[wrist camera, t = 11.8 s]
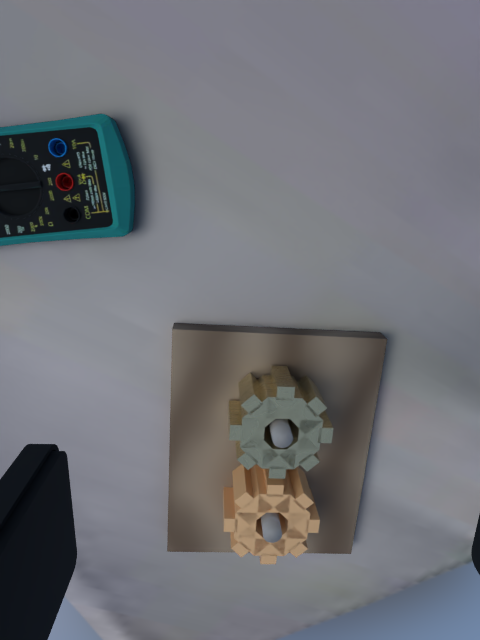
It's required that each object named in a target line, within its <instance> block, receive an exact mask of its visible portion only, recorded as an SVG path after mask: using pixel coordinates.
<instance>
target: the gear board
mask: <svg viewBox="0 0 480 640" xmlns="http://www.w3.org/2000/svg"><path fill="white" fill-rule="evenodd" d="M386 344H387V338H386V337H385V336H383V335H382V334H381V333H379V332H357V331H335V330H314V329H292V328H271V327H249V326H227V325H206V324H184V323H174V325H173V329H172V365H171V411H170V456H169V501H168V546H167V551H170V552H235V551H233V550H232V549H231V538H230V532H224V526H223V490H224V487H233V475H232V471H233V470H235V469H236V468H237V467H239V466H240V465H241V463H240V462H239V461H238V460H237V455H236V442H235V440H229V428H228V404H229V401H239V397H240V394H239V385H238V382H239V381H241V380H242V379H243V378H244V377H246V376H247V375H248V374H249V373H251V374H252V375H253V376H254V377H255V378H256V379H257V380H258V379H259V378H260V377H261V376H262V375H270V373H271V366H287V367H288V370H289V372H290V375H291V376H294V377H295V379H296V380H297V381H299V380H300V379H302V378H303V377H304V376H305V375H307V376H308V377H309V378H310V379H311V380H312V382H313V383H314V384H315V385H316V386H317V388H318V390H319V392H320V394H321V396H322V398H323V400H324V403H325V405H326V407H327V409H326V410H325V411H326V413H327V415H328V418H329V420H330V422H331V424H332V426H333V428H334V429H333V436H332V443H320V448H319V451H317V455H318V458H319V460H320V462H319V463H318V464H316V465H315V466H314V467H313V468H311V469H310V470H309V471H306V470H305V469H304V468H303V467H302V466H301V465H299V466H298V467H299V468H300V469H301V470H302V471H303V472H304V473H305V475H306V478H307V482H308V485H309V488H310V489H311V492H312V495H313V499H314V502H315V505H316V508H317V512H318V515H319V518H320V524H319V531H318V533H308V536H307V539H306V543H307V547H308V549H307V550H306V551H305V552H303V553H333V554H351V551H352V545H353V539H354V533H355V527H356V521H357V515H358V509H359V503H360V497H361V491H362V486H363V480H364V474H365V468H366V462H367V456H368V450H369V444H370V438H371V432H372V426H373V420H374V415H375V409H376V403H377V397H378V391H379V385H380V379H381V373H382V367H383V361H384V355H385V350H386ZM269 427H270V431H271V436H272V441H273V443H274V445H275V446H277V447H279V448H285V447H288V446H289V445H290V444H291V443H292V441H293V436H292V433H291V429H290V426H289V423H288V419H275V420H273V421H272V422H271V423H270V424H269ZM255 465H257V464H255ZM261 524H262V531H263V538H264V539H265V540H266V541H267V542H270V543H274V542H277V541H279V540H280V539H281V537H282V531H281V525H280V520H279V515H278V513H265V514H264V515H263V516H261ZM289 553H290V552H289Z"/></svg>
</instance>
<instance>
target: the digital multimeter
mask: <svg viewBox="0 0 480 640" xmlns="http://www.w3.org/2000/svg"><path fill="white" fill-rule="evenodd" d="M86 127H87V128H86ZM75 128H76V129H75ZM65 129H66V130H65ZM54 130H55V131H54ZM15 155H16V156H15ZM20 157H21V158H20ZM22 158H23V159H22ZM28 162H29V163H28ZM36 171H37V172H36ZM42 195H43V197H42ZM41 200H42V201H41ZM37 208H38V209H37ZM134 209H135V185H134V179H133V172H132V166H131V163H130V160H129V157H128V153H127V150H126V147H125V144H124V142H123V139H122V137H121V134H120V132H119V129H118V127H117V124H116V122H115V121H114V120H113V119H112V118H110V117H109V116H107V115H105V114H97V115H90V116H83V117H77V118H70V119H64V120H57V121H49V122H41V123H33V124H25V125H17V126H9V127H0V246H2V245H11V244H20V243H29V242H41V241H55V240H69V239H82V238H102V237H122V236H125V235H127V234H128V233H130V232H131V231H132V229H133V222H134ZM102 227H104V228H102ZM92 228H94V229H92ZM82 229H84V230H82ZM73 230H74V231H73ZM63 231H64V232H63Z"/></svg>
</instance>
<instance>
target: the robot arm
mask: <svg viewBox="0 0 480 640" xmlns="http://www.w3.org/2000/svg"><path fill="white" fill-rule="evenodd" d="M76 559H77V547H76V538H75V528H74V518H73V509H72V499H71V489H70V480H69V470H68V461H67V454H66V452H65V451H59V449H58V447H57V445H55V444H28V445H26V446H25V447H24V449H23V450H22V451H21V453H20V454H19V455H18V457H17V458H16V459H15V461H14V462H13V463H12V465H11V466H10V467H9V469H8V470H7V471H6V473H5V474H4V475H3V477H2V478H1V479H0V640H47V639H48V637H49V634H50V632H51V629H52V626H53V624H54V621H55V619H56V616H57V613H58V611H59V608H60V605H61V603H62V600H63V598H64V595H65V593H66V590H67V588H68V585H69V582H70V580H71V577H72V575H73V572H74V569H75V565H76ZM472 560H473V563H474V566H475V568H476V569H477V571H478V573H479V574H480V515H479V519H478V524H477V528H476V532H475V537H474V541H473V546H472Z"/></svg>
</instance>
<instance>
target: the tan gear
mask: <svg viewBox="0 0 480 640" xmlns="http://www.w3.org/2000/svg"><path fill="white" fill-rule="evenodd" d="M232 475H233V487H224V490H223V526H224V532H230V538H231V549H232V550H233V551H235V552H236V553H237V554H238V555H239V556H240V557H243V556H244V555H245V554H247V553H248V552H250V553H252V554H253V555H254V556H260V564H276V558H277V556H285V555H286V554H287V553H289V552H290V553H291V554H292V555H294V556H295V557H298V556H299V555H301V554H302V553H303V552H305V551H306V550H307V549H308V547H307V543H306V539H307V536H308V533H318V531H319V524H320V518H319V515H318V512H317V508H316V505H315V502H314V499H313V495H312V492H311V489H310V488H309V485H308V482H307V478H306V475H305V473H304V472H303V471H302V470H301V469H300V468H299V467H296V468H295V469H286V476H285V479H275V478H268V472H267V469H262V468H261V467H260V466H259V465H254V466H253V467H252V468H250V469H249V470H247V469H246V468H245V467H244V466H243V465H242V464H241V465H240V466H239V467H237V468H236V469H235V470H233V471H232ZM265 513H278V515H279V520H280V525H281V531H282V537H281V539H280V540H279V541H277V542H274V543H270V542H267V541H266V540H265V539H264V538H263V531H262V524H261V516H263V515H264V514H265Z"/></svg>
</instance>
